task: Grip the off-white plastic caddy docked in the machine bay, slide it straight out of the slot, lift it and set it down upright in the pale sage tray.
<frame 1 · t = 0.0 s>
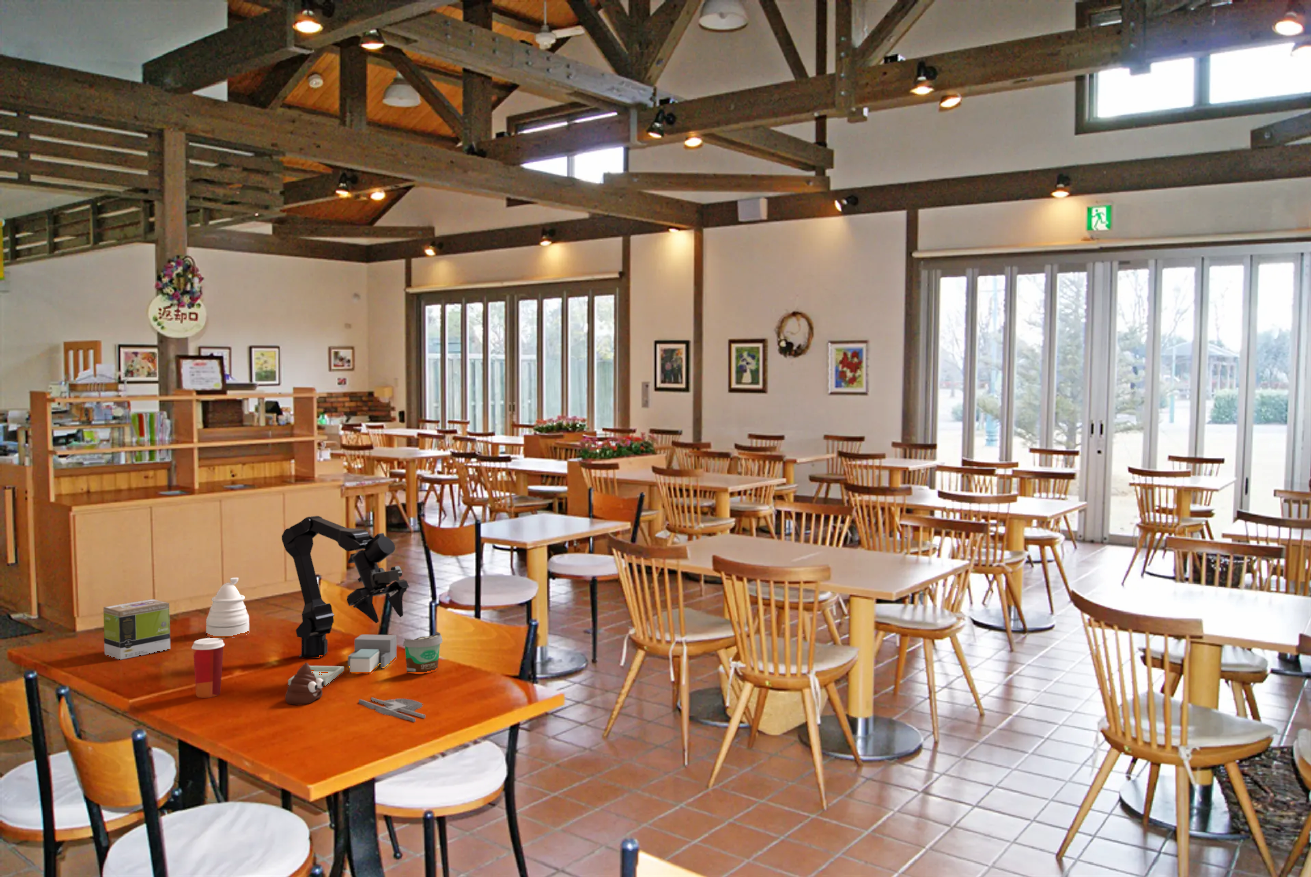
hand: (389, 619, 270), 15 cm above the table, tool tilted 35°, fingers open, 9 cm apart
honey pot: (227, 634, 312), on the table
food container: (427, 672, 271), on the table
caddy: (365, 670, 272), on the table
poop emoji: (304, 700, 244), on the table
bay: (364, 669, 272), on the table
tray: (316, 678, 262), on the table
grey toy spaceship: (394, 712, 237), on the table
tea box: (137, 653, 287), on the table
paper cup: (207, 695, 246), on the table
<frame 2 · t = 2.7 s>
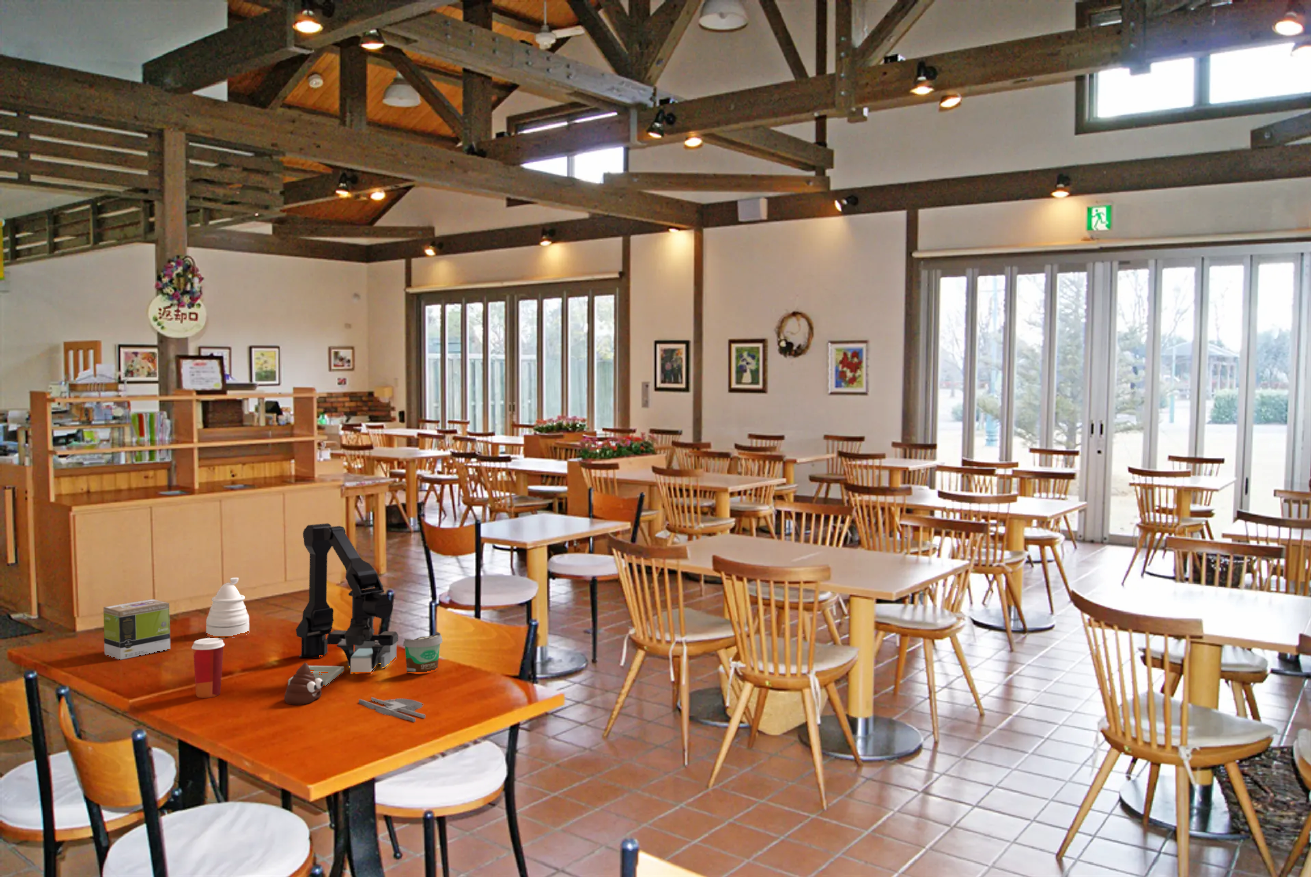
hand: (362, 668, 270), 1 cm above the table, tool pointing down, fingers closed on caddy, 6 cm apart
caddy: (364, 669, 272), on the table, touching gripper
everything else where it was.
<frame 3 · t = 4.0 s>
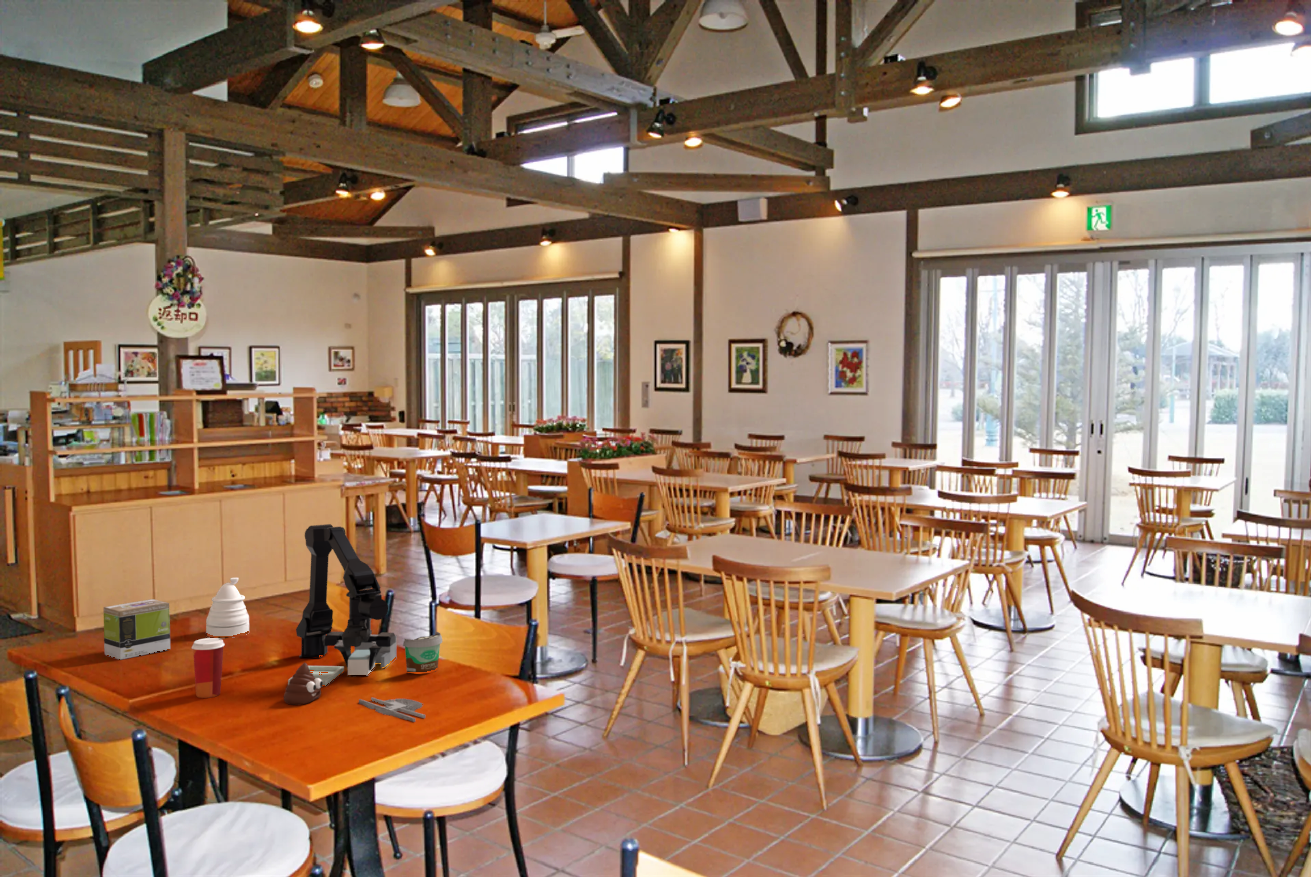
hand: (359, 669, 267), 1 cm above the table, tool pointing down, fingers closed on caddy, 6 cm apart
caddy: (361, 671, 270), on the table, touching gripper
everything else where it was.
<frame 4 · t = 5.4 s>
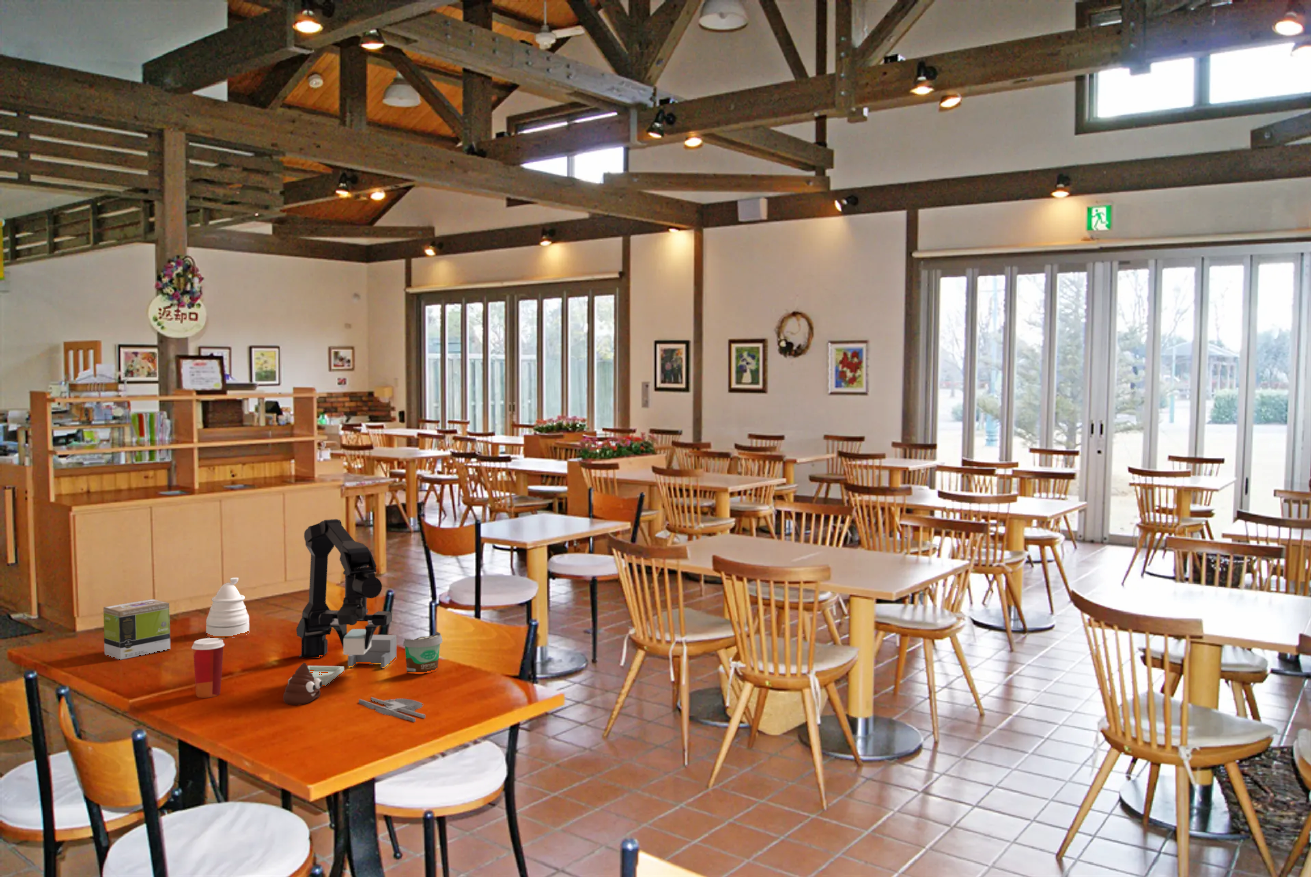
hand: (355, 648, 264), 8 cm above the table, tool pointing down, fingers closed on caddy, 6 cm apart
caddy: (357, 650, 266), point 7 cm above the table, touching gripper
everything else where it was.
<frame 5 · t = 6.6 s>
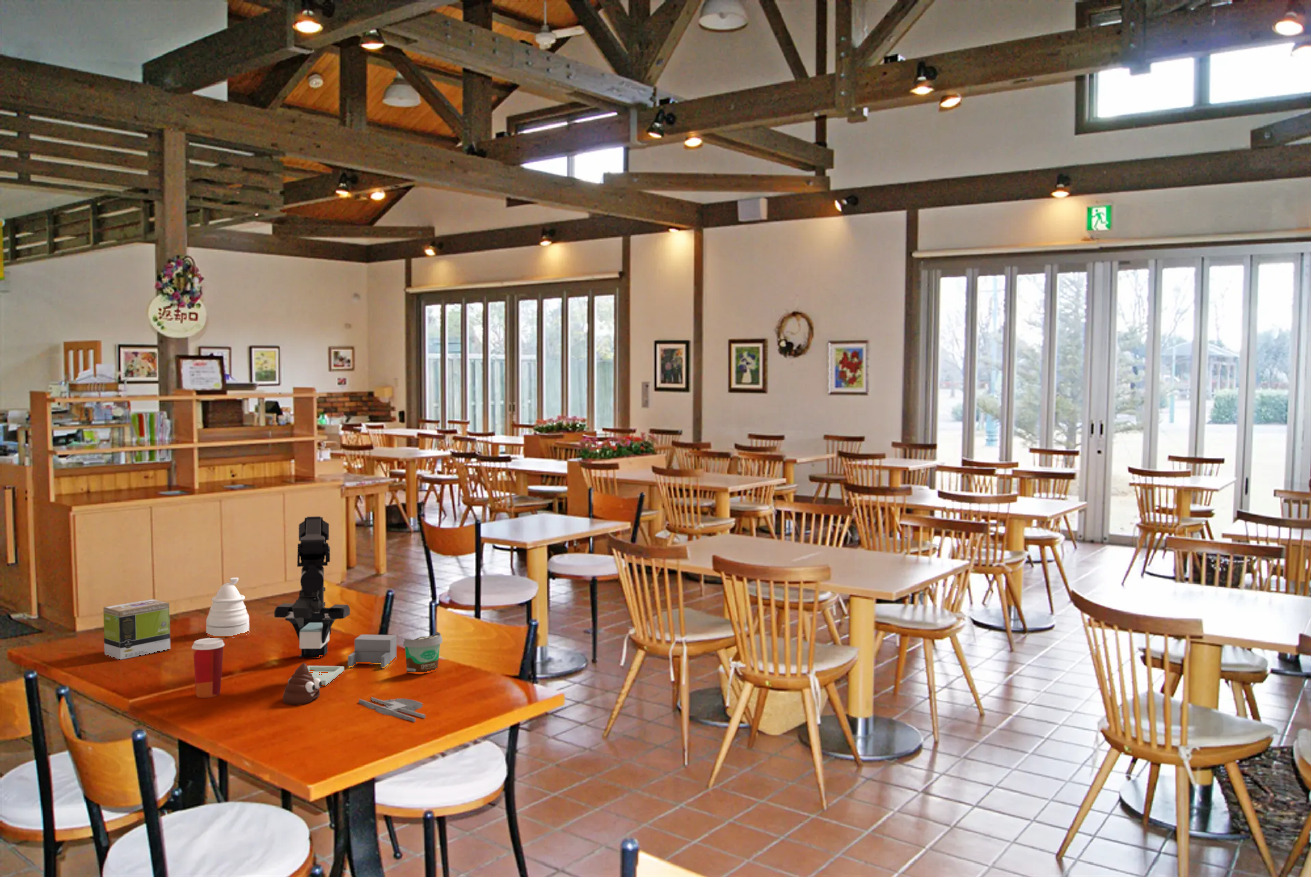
hand: (312, 642, 258), 11 cm above the table, tool pointing down, fingers closed on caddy, 6 cm apart
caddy: (314, 644, 261), point 10 cm above the table, touching gripper
everything else where it was.
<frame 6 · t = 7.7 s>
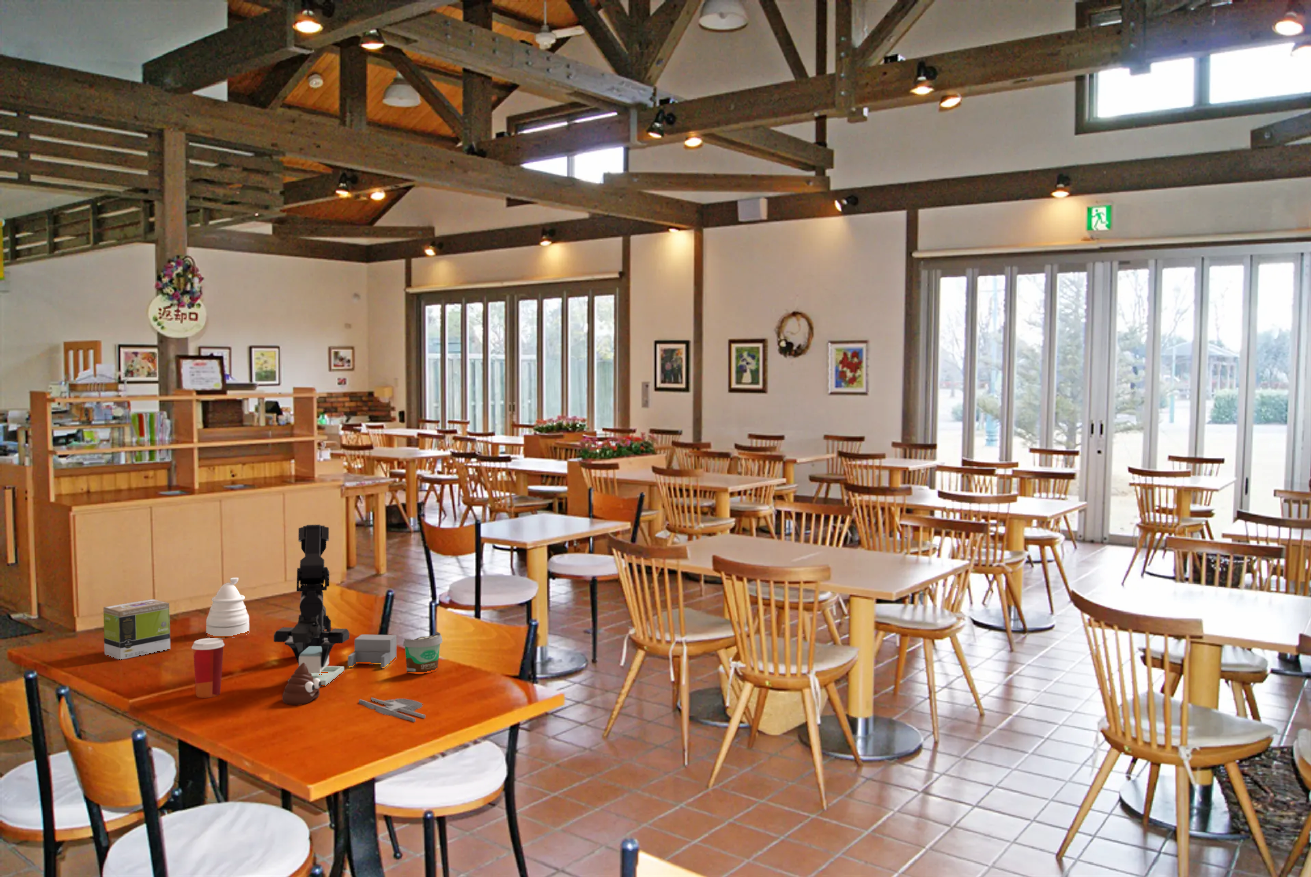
hand: (311, 666, 259), 4 cm above the table, tool pointing down, fingers closed on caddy, 6 cm apart
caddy: (314, 668, 261), point 3 cm above the table, touching gripper
everything else where it was.
when the fingers open (3 cm above the table, at t = 8.5 s): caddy drops 1 cm, resting on tray.
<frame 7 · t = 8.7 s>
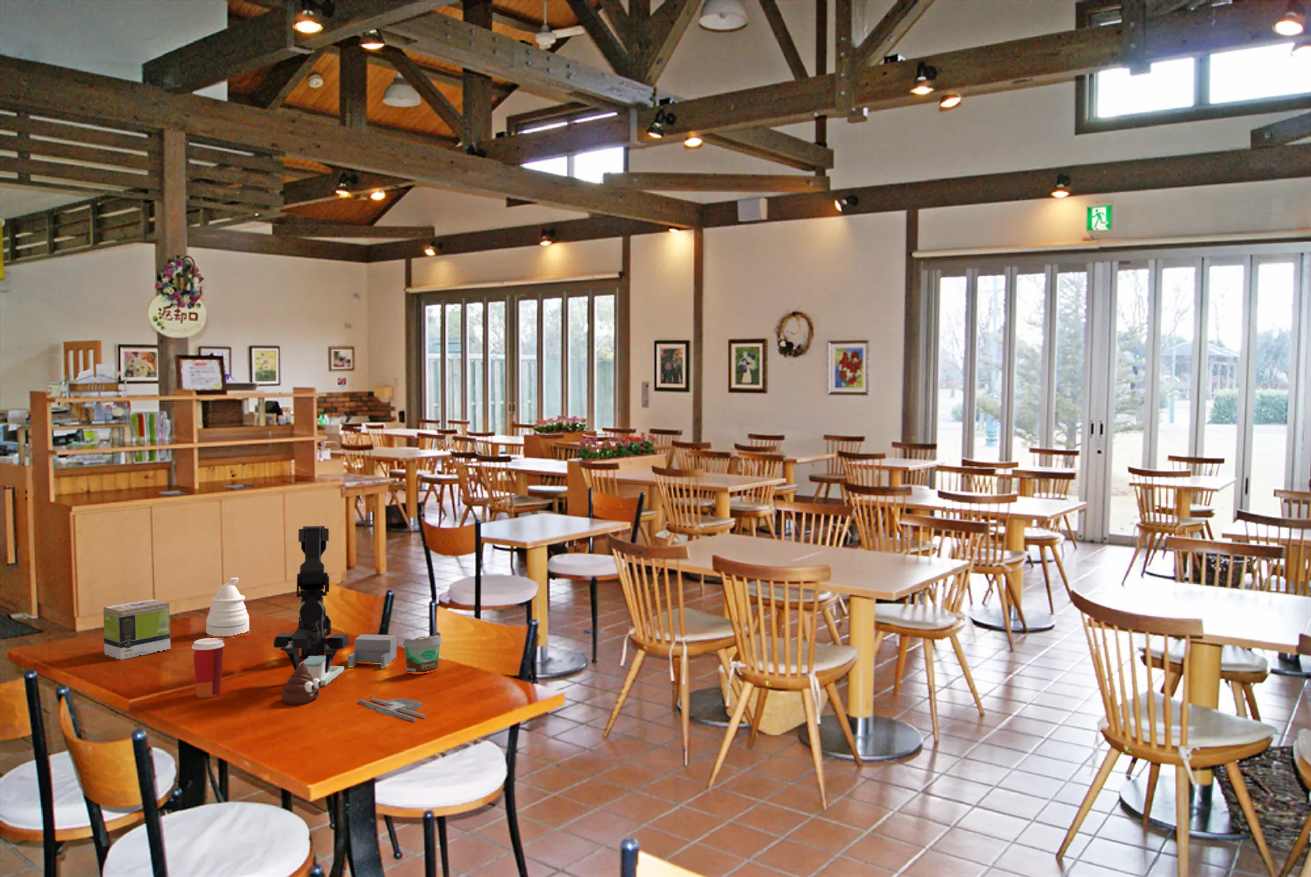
hand: (311, 672, 259), 3 cm above the table, tool pointing down, fingers open, 8 cm apart
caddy: (314, 678, 261), resting on tray
everything else where it was.
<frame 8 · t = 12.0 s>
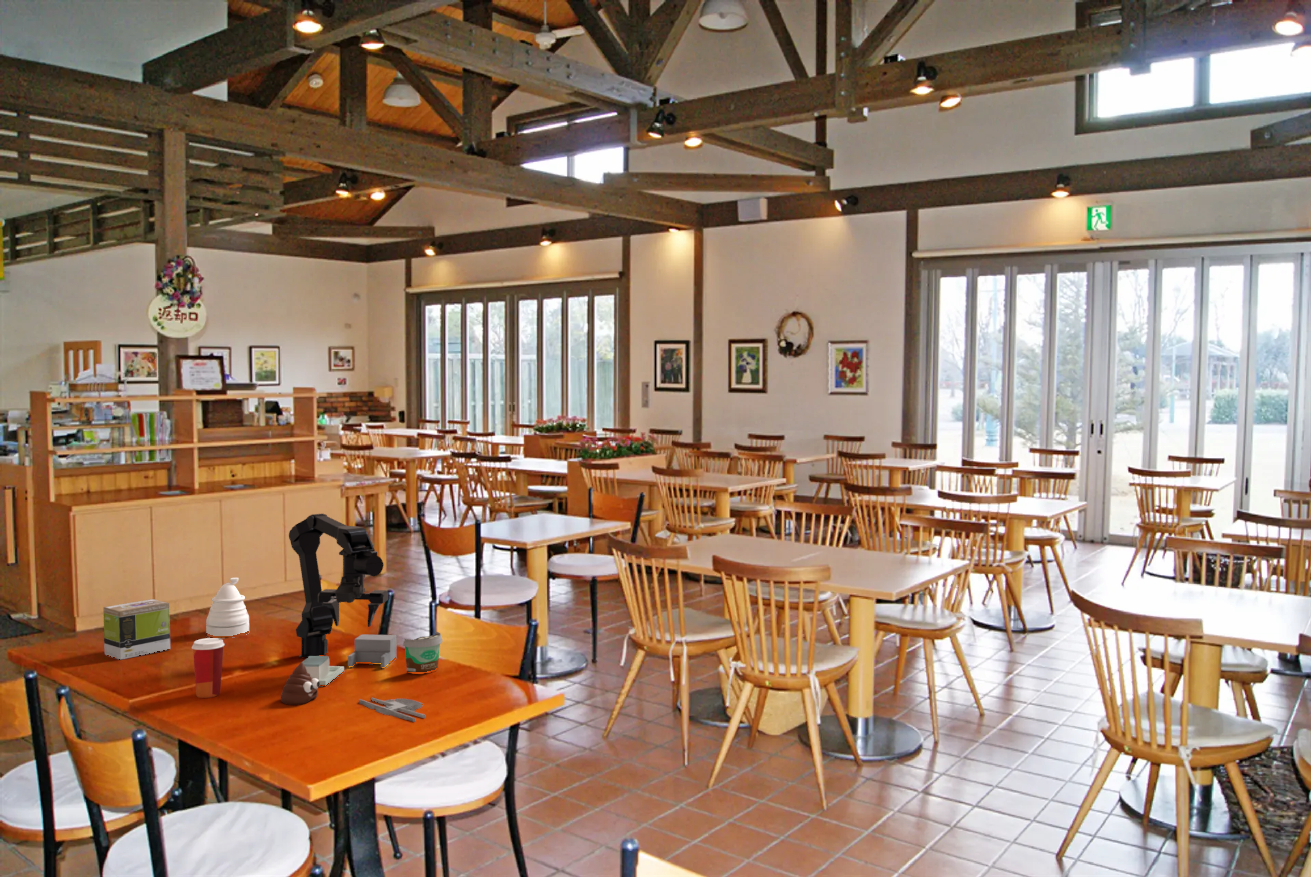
hand: (353, 626, 273), 12 cm above the table, tool pointing down, fingers open, 9 cm apart
at the end: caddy 1.4 cm off-centre on the tray, point 0.5 cm above the tray's base; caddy tilted 0°; poop emoji moved 1.2 cm from its start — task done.
